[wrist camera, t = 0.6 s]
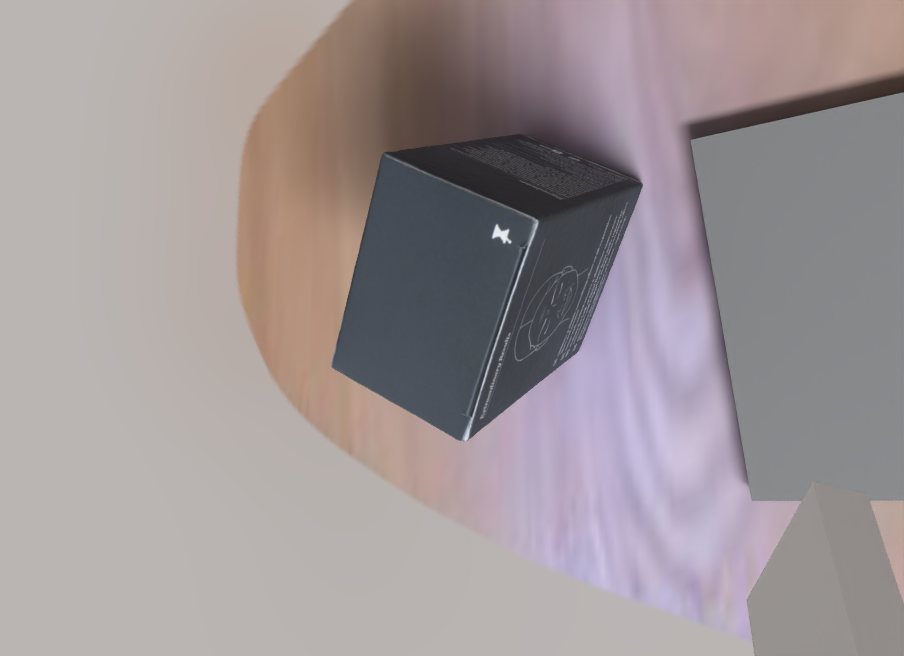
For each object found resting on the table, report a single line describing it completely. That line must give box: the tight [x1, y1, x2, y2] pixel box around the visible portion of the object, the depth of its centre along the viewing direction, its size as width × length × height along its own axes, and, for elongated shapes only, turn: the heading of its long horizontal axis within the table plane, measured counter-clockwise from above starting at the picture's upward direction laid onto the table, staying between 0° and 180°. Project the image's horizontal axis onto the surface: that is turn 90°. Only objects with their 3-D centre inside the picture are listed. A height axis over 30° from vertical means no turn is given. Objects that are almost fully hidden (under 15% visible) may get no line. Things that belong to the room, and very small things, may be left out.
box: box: [331, 134, 643, 441], centre depth 30 cm, size 8×6×11 cm
